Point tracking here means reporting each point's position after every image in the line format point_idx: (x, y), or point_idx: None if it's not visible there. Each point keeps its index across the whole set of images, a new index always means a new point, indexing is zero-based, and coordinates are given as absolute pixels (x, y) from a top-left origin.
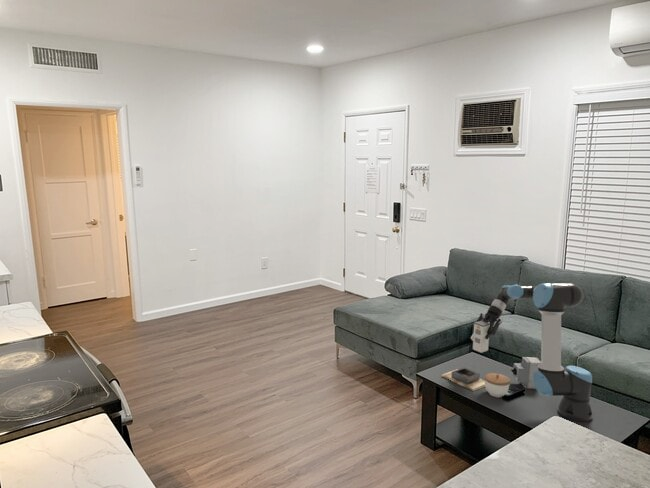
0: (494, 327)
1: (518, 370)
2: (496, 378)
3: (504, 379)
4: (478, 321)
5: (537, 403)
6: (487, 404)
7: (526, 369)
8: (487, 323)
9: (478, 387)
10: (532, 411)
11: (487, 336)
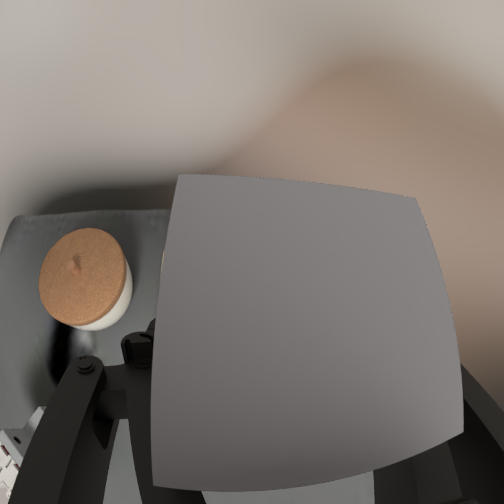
0: (48, 443)
1: (44, 406)
2: (76, 261)
3: (53, 279)
4: (481, 428)
5: (10, 339)
6: (97, 220)
7: (25, 427)
8: (209, 439)
9: (160, 276)
10: (10, 283)
11: (148, 331)
